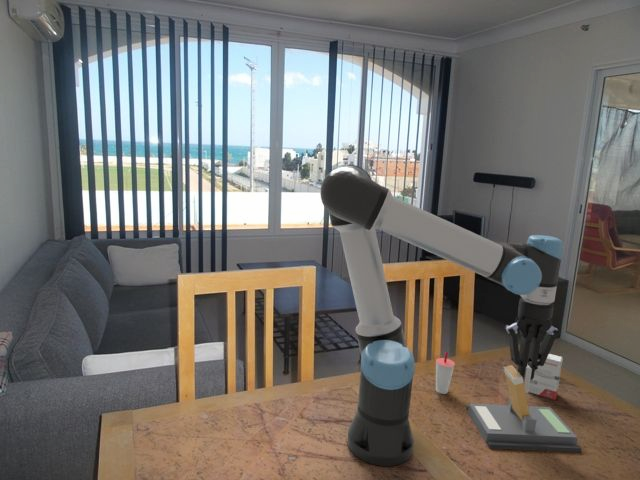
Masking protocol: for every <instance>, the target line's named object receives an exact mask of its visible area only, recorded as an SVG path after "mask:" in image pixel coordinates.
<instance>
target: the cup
mask: <svg viewBox="0 0 640 480" xmlns="http://www.w3.org/2000/svg"><path fill="white" fill-rule="evenodd" d="M455 365H456V363H455V361H453V360H452V359H448V352H446V351H445V353H444V357H438V358H436V359H435V391H436V393H438V394H442V395H447V394H448V392H449V388H450V385H451V381H452V377H453V372H454V368H455Z"/></svg>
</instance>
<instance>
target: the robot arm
mask: <svg viewBox="0 0 640 480" xmlns="http://www.w3.org/2000/svg"><path fill="white" fill-rule="evenodd" d="M320 199H321V203H322V205H323V207H324V208H325V209H326V211H327V212H328V215H329V220H330V224H331V227H332V228H334V229H336V230H337V231H338V232H339V235H340V240H341V244H342V249H343V254H344V257H345V262H346V268H347V270H348V271H347V272H348V276H349V280H350V284H351V288H352V289H351V290H352V295H353V297H354V303H355V308H356V313H357V315H358V321H359V323H358V324H357V325H356V327H355V334H356V338H357V343H358V349H359V353H360V369H359V370H360V372H359V373H360V374H359V388H358V401H357V410H356V411H355V414H354V417H353V419H352V421H351V423H350V425H349V427H348V431H347V436H346V437H347V439H346V443H347V447H348V449H349V450H350V452H351V453H352V454H353V455H354V456H356V457H357V458H358V459H360V460H361V461H364V462H365V463H368V464H371V465H376V466H381V467H394V466H398V465H401V464H404V463H405V462H407V461H408V460H410V458H411V457H412V454H413V450H414V437H413V432H412V428H411V424H410V420H409V417H410V409H411V408H410V407H411V399H412V398H411V397H412V389H413V388H412V387H413V380H414V376H415V371H416V369H415V368H416V367H415V357H414V354H413V353H412V351H411V350H410V348H408V347H407V346H408V345H407V341H406V338H405V336H404V331H403V326H402V322H401V320H400V318H398V317H397V316H395V315H394V313H393V312H394V311H393V307H392V302H391V299H390V294H389V290H388V289H389V288H388V283H387V280H386V275H385V270H384V265H383V260H382V255H381V250H380V246H379V241H378V236H377V232H376V230H380V231H381V232H384V233H386V234H388V235H391V236H393V237H395V238H397V239H398V240H401V241H404V242H406V243H407V244H408V243H409V244H411V245H412V246H415V247H416V248H420V249H423V250H424V251H426V252H428V253H431V254H433V255H436V256H437V257H440V258H442V259H444V260H446V261H448V262H451V263H453V264H455V265H458V266H460V267H462V268H464V269H467V270H469V271H471V272H473V273H475V274H478V275H481V276H482V277H484V278H486V279H487V280H490V281H492V282H495V283H496V284H499V285H501V286H503V288H504V289H506V290H507V291H509V292H511V293H513V294H515V295H518V296H520V298H519V300H518V301H519V302H518V309H517V316H516V318H515V320H514V323H511V324H510V325H509V324H506V325H505V326H504V329H505V331H506V333H507V335H508V344H509V352H510V359H511V361H512V362H513V363H514V364H515V365H516V366H518V367H517V372H518V373H519V374H520V375H521V376H522V377H523V382H524V383H523V384H524V388H525V393H526V394H529V392H528V391H529V385H530V379H533V378H534V373H535V370H537V369H538V367H537V366H543V365H544V364H545V361H546V359H547V357H548V354H550V352H551V349H552V347H553V345H554V342H555V340H556V339H557V338H558V337H559V336H560V334H561V330H559V329H558V328H557V327H555V326H553V323H552V318H553V314H554V306H555V305H554V303H555V299H556V292H557V287H558V281H559V280H558V279H559V275H560V270H561V263H562V261H563V249H564V248H563V246H564V245H563V241H562V240H561V239H560V238H557V237H554V236H551V235H542V234H536V235H535V234H532V235H530V236H529V237H528V238H527V241H526V243H525V242H524V243H517V242H516V243H515V242H502V241H492V240H490V239H488V238H486V237H484V236H481V235H480V234H477V233H475V232H473V231H471V230H468V229H466V228H464V227H462V226H459V225H458V224H455V223H452V222H451V221H448V220H447V219H444V218H441V217H440V216H437V215H435V214H433V213H431V212H429V211H426V210H424V209H422V208H419V207H417V206H415V205H413V204H411V203H409V202H406V201H405V200H402V199H400V198H398V197H395V196H394V195H393V194H392V191H391V189H390V188H387V187H386V186H384V185H381V184H379V183H377V182H376V181H374V180H373V179H372V178H371V175H370V174H369V173H368V171H367V170H366V169H364V168H363V167H361V166H360V165H356V164H350V163H349V164H342V165H340V166H337V167H335V168H334V169H333V170H332V171H330V172H329V173H327V175H326V176H325V177H324V179H323V181H322V184H321V187H320ZM518 330H519V332H520V343H519V341H518V339H519V338H518V335H517V334H518Z"/></svg>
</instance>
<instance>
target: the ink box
mask: <svg viewBox="0 0 640 480" xmlns="http://www.w3.org/2000/svg"><path fill="white" fill-rule="evenodd" d="M562 364H563V356H561V355H560V356H559V355H556V354H552V353H549V354H548V357H547V359H546V361H545V364H544V365H543V366H537V367H538V369H537V370H535V373H534V378H533V379H530V385H529V391H528V393H531V394H535V395H538V396H541V397H544V398H548V399H551V400H556V398H557V395H558V389H559V384H560V378H561V377H560V376H561V371H562V366H563V365H562Z"/></svg>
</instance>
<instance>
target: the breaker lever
mask: <svg viewBox="0 0 640 480" xmlns="http://www.w3.org/2000/svg"><path fill="white" fill-rule="evenodd" d="M503 371H504V375H505V381H506V385H507V390H508V394H509V397H510V400H511V404H512V409H513V410H514V411H515V413H516V414H517V415H518V416H519V418H520V419H521V420H522V422H523V418H524V416H530V413H529V408H528V406H529V404H528V399H527V395H526V394H527V393H525V388H524V384H523V383H524V382H523V377H522V376H521V375H520V374H519V373H518V369H516V368H515V367H514V366H513V365H512V364H511V365H507V366H503Z"/></svg>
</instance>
